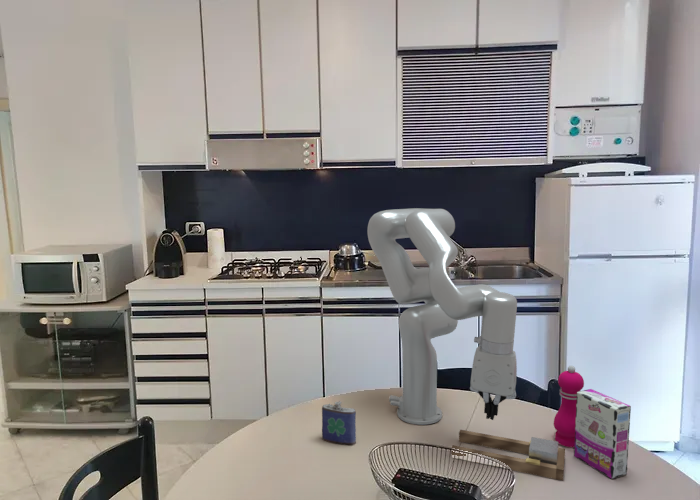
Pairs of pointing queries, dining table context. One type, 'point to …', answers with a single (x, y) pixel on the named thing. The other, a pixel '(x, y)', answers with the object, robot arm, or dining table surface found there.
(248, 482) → the dining table surface
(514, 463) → the track
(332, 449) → the dining table surface
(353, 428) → the flask
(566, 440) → the pepper mill
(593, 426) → the candy bar box
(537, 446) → the block
